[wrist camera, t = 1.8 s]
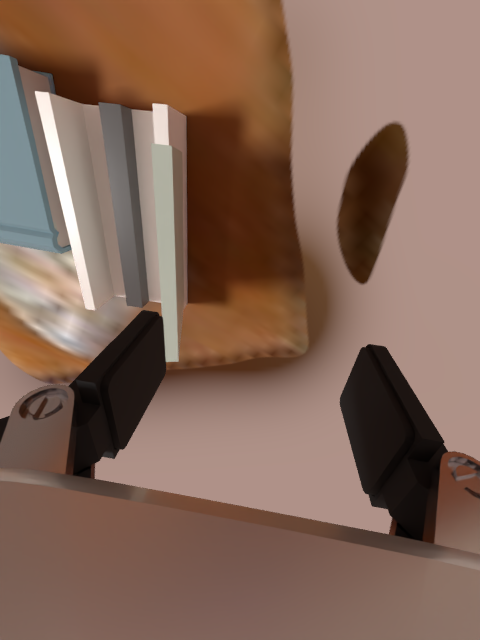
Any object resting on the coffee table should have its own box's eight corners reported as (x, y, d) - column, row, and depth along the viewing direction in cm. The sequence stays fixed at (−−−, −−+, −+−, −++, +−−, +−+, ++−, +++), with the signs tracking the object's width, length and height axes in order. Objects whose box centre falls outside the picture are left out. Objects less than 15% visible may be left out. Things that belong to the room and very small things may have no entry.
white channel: (75, 104, 25) (34, 90, 21) (186, 116, 24) (167, 104, 20) (108, 292, 35) (85, 308, 31) (187, 303, 35) (175, 322, 30)
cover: (151, 143, 13) (171, 145, 13) (170, 150, 22) (182, 152, 22) (165, 361, 20) (178, 361, 20) (175, 299, 29) (184, 299, 29)
